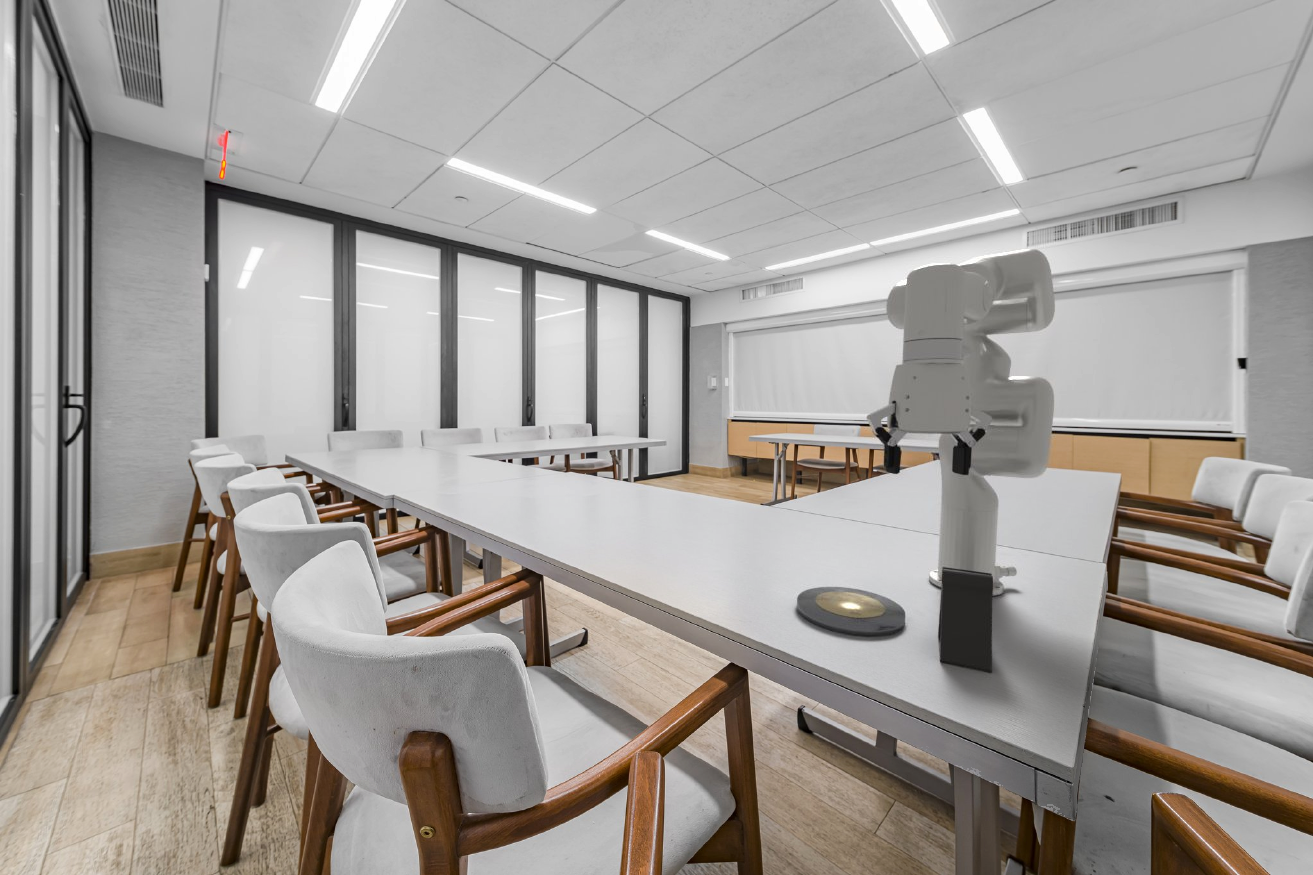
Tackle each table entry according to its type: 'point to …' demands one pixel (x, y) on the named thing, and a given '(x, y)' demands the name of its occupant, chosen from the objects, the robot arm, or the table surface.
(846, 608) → the rosette plate
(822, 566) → the table surface
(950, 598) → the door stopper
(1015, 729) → the table surface
